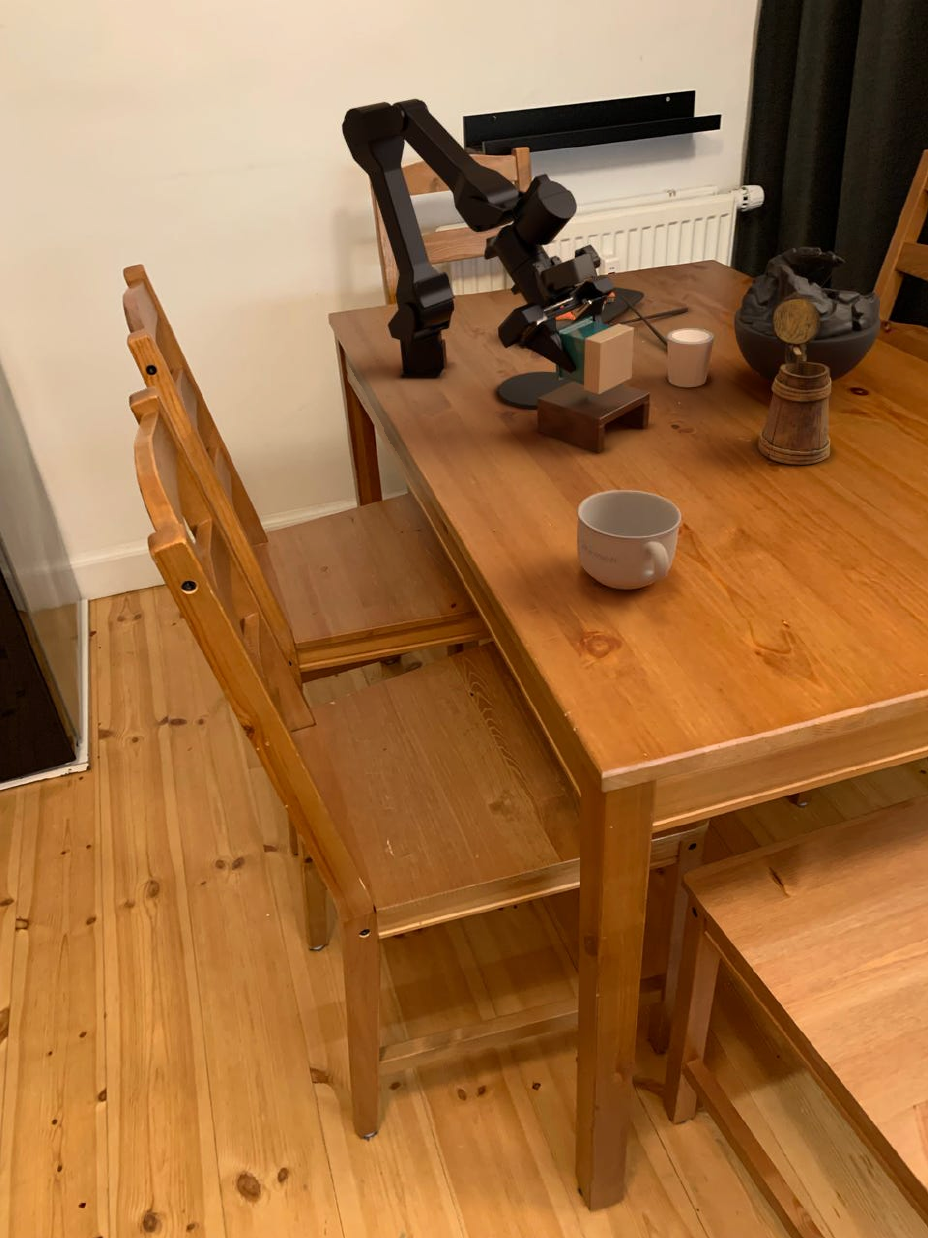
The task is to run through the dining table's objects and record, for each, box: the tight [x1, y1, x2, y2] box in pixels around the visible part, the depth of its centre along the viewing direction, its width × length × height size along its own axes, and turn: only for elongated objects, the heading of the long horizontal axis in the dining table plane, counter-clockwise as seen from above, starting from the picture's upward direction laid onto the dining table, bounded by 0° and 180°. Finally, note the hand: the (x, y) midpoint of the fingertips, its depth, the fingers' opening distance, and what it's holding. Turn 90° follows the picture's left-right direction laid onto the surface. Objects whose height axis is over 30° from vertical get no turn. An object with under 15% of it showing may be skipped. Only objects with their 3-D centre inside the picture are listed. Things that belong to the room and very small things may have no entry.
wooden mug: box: [757, 292, 832, 465], centre depth 123 cm, size 9×14×18 cm, turn 178°
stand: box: [536, 382, 651, 454], centre depth 134 cm, size 11×11×5 cm
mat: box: [497, 371, 573, 410], centre depth 146 cm, size 13×13×1 cm
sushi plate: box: [521, 284, 689, 349], centre depth 166 cm, size 29×30×4 cm
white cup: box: [666, 327, 715, 388], centre depth 145 cm, size 7×7×7 cm
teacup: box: [576, 489, 683, 590], centre depth 101 cm, size 14×11×8 cm
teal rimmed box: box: [555, 316, 635, 394], centre depth 129 cm, size 8×7×7 cm
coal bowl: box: [733, 246, 882, 384], centre depth 138 cm, size 20×20×19 cm
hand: (590, 363), depth 130 cm, fingers closed on teal rimmed box, 7 cm apart
